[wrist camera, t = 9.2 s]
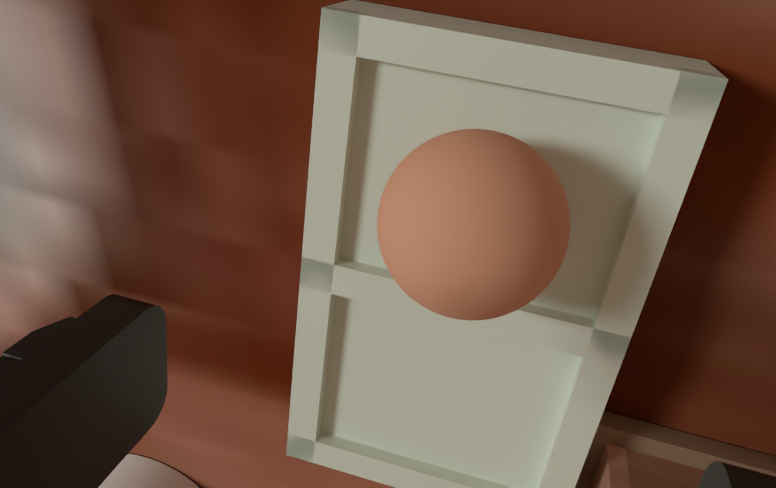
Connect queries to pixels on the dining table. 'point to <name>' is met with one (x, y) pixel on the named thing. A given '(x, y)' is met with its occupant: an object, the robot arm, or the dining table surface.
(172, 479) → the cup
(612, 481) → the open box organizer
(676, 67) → the pocket board
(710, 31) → the dining table surface
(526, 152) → the ball terracotta
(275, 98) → the dining table surface
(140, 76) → the dining table surface
